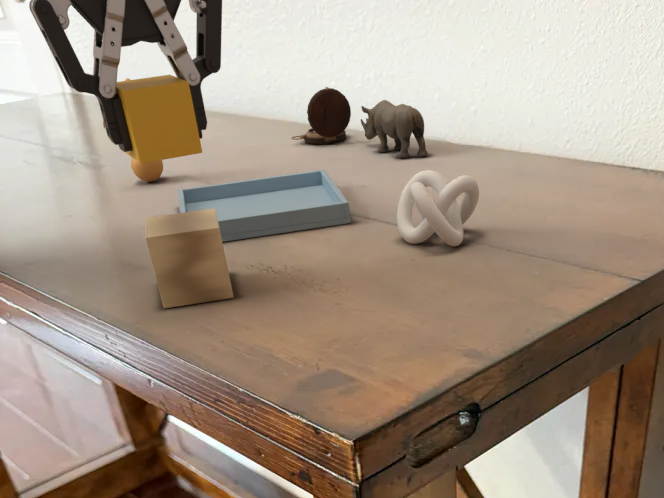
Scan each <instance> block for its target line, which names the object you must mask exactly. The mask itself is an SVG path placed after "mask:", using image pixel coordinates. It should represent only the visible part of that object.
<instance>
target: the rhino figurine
mask: <svg viewBox="0 0 664 498" xmlns="http://www.w3.org/2000/svg"><path fill="white" fill-rule="evenodd" d="M360 107H361V111H362V112H363V114H366V115H367V116H368V117H366V118H365V120H366V121H364V120H363V119H362V118H360V124H361V126H362V128H363V130H364V137H365V138H366V140H368V141H370V140H373V139H375V138H376V137H378V138H379V141H380V146H379V147H378V150H377V152H378V153H387V152H388V151H389V150H390V149H389V145H388V138H390V139H393V140H394V146H393V147H394V150H397V151H398V150H400V151H399V152H398V153H397V157H398V159H402V158H403V159H404V158H409V157H410V153H409V148H410V146H411V137H412V135H413V137H414V139H415V140H416V142H417V145H418V150H417V153H416V156H417V157H421V158H423V157H426V156H428V155H429V152H428V150H427V147H426V140H425V136H424V135H425V121H424V117H423V115H422V113H421V112H420V111H419V110H418V109H417V108H416V107H415V108H414V107H413V106H412V105H407V104H404V103H401V104H399V105H395V104H394V103H392V102H391V101H389V100H387V99H382V100H380V101H379V102H378V103H376V104H375V106H374V107H372V108H368V107H366V106H363V105H361V106H360Z"/></svg>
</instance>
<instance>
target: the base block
mask: <svg viewBox="0 0 664 498" xmlns="http://www.w3.org/2000/svg"><path fill="white" fill-rule="evenodd" d="M145 242H146V246H147V249H148V253H149V257H150V261H151V265H152V269H153V272H154V276H155V280H156V285H157V287H158V288H157V289H158V291H159V296H160V299H161V303H162V307H163V309H170V308H177V307H184V306H189V305H197V304H202V303H209V302H216V301H222V300H228V299H233V298H234V297H235V296H234V291H233V288H232V283H231V278H230V273H229V268H228V263H227V257H226V253H225V248H224V243H223V242H222V238H221V233H220V228H219V224H218V219H217V215H216V210H215V208H213V209H206V210H199V211H192V212H184V213H180V212H179V213H178V212H177V213H171V214H164V215H157V216H150V217H145Z"/></svg>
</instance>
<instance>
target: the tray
mask: <svg viewBox="0 0 664 498" xmlns="http://www.w3.org/2000/svg"><path fill="white" fill-rule="evenodd" d="M177 196H178V198H177V199H178V206H179V207H178V208H179V209H178V210H179V213H184V212H192V211H199V210H206V209H213V208H215V210H216V215H217V219H218V224H219V228H220V233H221V238H222V243H223V242H224V243H225V242H231V241H239V240H245V239H251V238H257V237H265V236H273V235H277V234H278V235H279V234H285V233H292V232H293V233H294V232H299V231H305V230H311V229H313V230H314V229H319V228H325V227H332V226H339V225H347V224H351V222H352V221H351V211H350V203H349V201H348V199H347V198H346V197H345V196H344V194H343V193H342V191H341V190H340V189H339V187H338V186H337V185H336V183H335V181H334V180H333V179H332V178H331V176H330V175H329V173H328V172H327V171H326V169H318V170H310V171H302V172H295V173H289V174H288V173H287V174H280V175H273V176H267V177H259V178H252V179H251V178H250V179H244V180H237V181H229V182H222V183H215V184H208V185H200V186H193V187H185V188H179V189H177Z"/></svg>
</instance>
